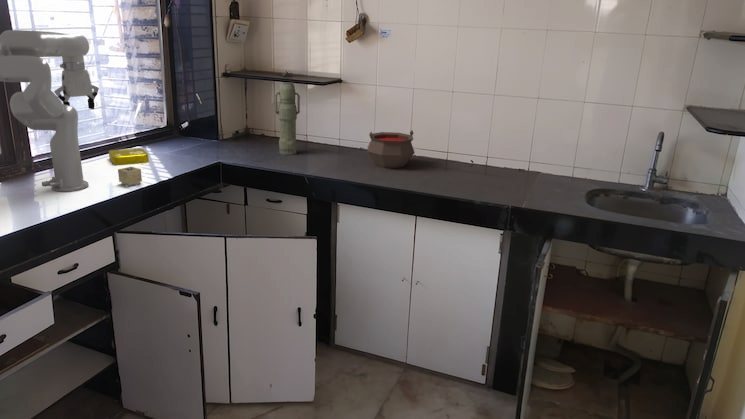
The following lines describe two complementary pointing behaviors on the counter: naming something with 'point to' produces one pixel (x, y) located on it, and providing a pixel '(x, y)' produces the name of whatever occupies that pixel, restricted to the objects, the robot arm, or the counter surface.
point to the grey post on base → (132, 183)
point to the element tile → (128, 156)
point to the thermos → (287, 118)
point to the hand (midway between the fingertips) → (79, 110)
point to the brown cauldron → (391, 149)
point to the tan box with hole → (129, 175)
